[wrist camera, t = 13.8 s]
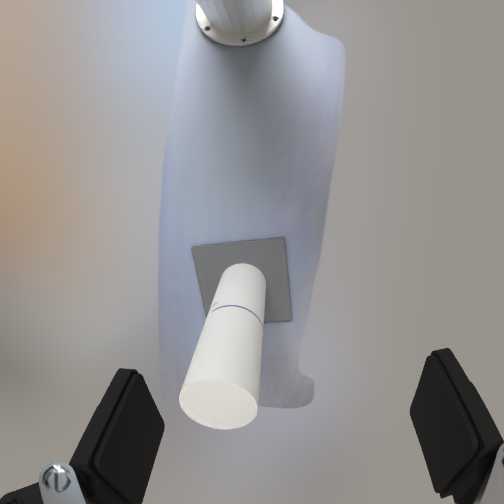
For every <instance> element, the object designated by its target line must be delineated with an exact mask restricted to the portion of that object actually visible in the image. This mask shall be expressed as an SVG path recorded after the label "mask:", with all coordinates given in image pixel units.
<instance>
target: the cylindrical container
mask: <svg viewBox="0 0 504 504" xmlns="http://www.w3.org/2000/svg"><path fill="white" fill-rule="evenodd" d="M265 295H266V280H265V277H264V275H263V274H262V272H261V271H260V270H259V269H258V268H256V267H255V266H252V265H250V264H245V263H239V264H235V265H232V266H230V267H228V268H227V269H226V270H225V271H224V273H223V274H222V277H221V279H220V282H219V285H218V287H217V290H216V293H215V296H214V299H213V301H212V304H211V307H210V310H209V313H208V315H207V318H206V321H205V324H204V327H203V329H202V332H201V335H200V338H199V341H198V343H197V346H196V349H195V352H194V355H193V358H192V361H191V363H190V366H189V369H188V372H187V375H186V378H185V381H184V384H183V386H182V389H181V392H180V396H179V402H180V405H181V407H182V409H183V411H184V412H185V413H186V414H187V415H188V416H189V417H190V418H191V419H193V420H194V421H196V422H198V423H200V424H202V425H204V426H207V427H211V428H216V429H236V428H240V427H243V426H245V425H247V424H249V423H250V422H251V421H252V420H253V419H254V418H255V417H256V414H257V411H258V398H259V385H260V371H261V357H262V342H263V327H264V312H265Z"/></svg>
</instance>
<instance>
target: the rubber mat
mask: <svg viewBox="0 0 504 504" xmlns="http://www.w3.org/2000/svg"><path fill="white" fill-rule="evenodd" d="M192 253H193V258H194V263H195V268H196V273H197V277H198V282H199V287H200V291H201V296H202V300H203V305H204V309H205V313H206V318H207V315H208V313H209V310H210V307H211V304H212V301H213V299H214V296H215V293H216V290H217V287H218V285H219V282H220V279H221V277H222V274H223V273H224V271H225V270H226V269H227V268H228V267H230V266H232V265H235V264H239V263H245V264H250V265H252V266H255V267H256V268H258V269H259V270H260V271H261V272H262V274H263V275H264V277H265V280H266V295H265V312H264V322H273V321H285V320H292V317H291V305H290V294H289V282H288V272H287V261H286V251H285V241H284V237H278V238H268V239H259V240H249V241H239V242H230V243H220V244H211V245H201V246H193V247H192Z"/></svg>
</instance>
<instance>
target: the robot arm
mask: <svg viewBox="0 0 504 504" xmlns="http://www.w3.org/2000/svg"><path fill="white" fill-rule="evenodd" d="M196 2H197V4H196V8H195V16H196V20H197V23H198V25H199V27H200V29H201V30H202V31H203V33H205V34H206V35H207V36H208V37H209V38H210V39H212V40H214V41H216V42H218V43H221V44H224V45H229V46H246V45H251V44H255V43H257V42H260V41H262V40H264V39H265V38H267V37H269V36H270V35H271V34H272V33H273V32H274V31H275V30H276V29H277V28H278V26H279V25H280V23H281V21H282V18H283V14H284V3H283V0H196ZM274 20H277V21H274ZM208 29H210V30H209V31H207V30H208ZM244 39H245V40H246V41H245V42H243V40H244ZM410 416H411V419H412V422H413V425H414V428H415V430H416V434H417V436H418V439H419V442H420V445H421V448H422V452H423V455H424V458H425V461H426V464H427V467H428V471H429V474H430V477H431V480H432V484H433V487H434V490H435V492H436V493H440V497H441V498H445V497H447V496H450V495H453V498H454V502H455V504H504V441H503V439H502V437H501V435H500V433H499V431H498V429H497V427H496V425H495V423H494V421H493V419H492V417H491V415H490V413H489V411H488V410H487V408H486V406H485V404H484V402H483V400H482V399H481V397H480V395H479V393H478V392H477V390H476V388H475V386H474V385H473V384H472V382H470V381H469V379H468V377H467V376H466V374H465V372H464V371H463V369H462V367H461V366H460V364H459V362H458V361H457V359H456V358H455V356H454V354H453V353H452V351H451V350H450V349H449V348H445V349H440V350H436V351H432V353H431V355H430V356H428V357H427V358H426V362H425V365H424V368H423V371H422V375H421V378H420V381H419V384H418V387H417V390H416V393H415V396H414V399H413V402H412V404H411V407H410ZM163 432H164V421H163V419H162V417H161V415H160V413H159V411H158V409H157V407H156V405H155V402H154V400H153V398H152V396H151V394H150V392H149V389H148V387H147V385H146V383H145V380H144V378H143V376H142V375H141V374H139V373H138V372H137V370H135V369H122V368H120V369H119V370H118V371H117V372H116V374H115V376H114V378H113V380H112V381H111V383H110V386H109V387H108V389H107V391H106V393H105V395H104V397H103V398H102V400H101V402H100V404H99V406H98V407H97V409H96V410H95V412H94V414H93V416H92V418H91V420H90V422H89V424H88V426H87V428H86V430H85V432H84V434H83V436H82V438H81V440H80V442H79V444H78V446H77V448H76V450H75V452H74V454H73V456H72V458H71V461H70V463H69V464H67V463H64V462H60V461H56V462H52V463H50V464H48V465H46V466H45V467H44V468H43V469H42V471H41V473H40V475H39V482H37V483H35V484H32V485H30V486H27V487H24V488H21V489H19V490H16V491H13V492H10V493H7V494H6V495H4V496H3V497H2V498H1V499H0V504H142V501H143V498H144V495H145V491H146V488H147V485H148V481H149V478H150V475H151V471H152V468H153V464H154V461H155V458H156V455H157V452H158V448H159V445H160V442H161V439H162V436H163Z"/></svg>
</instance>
